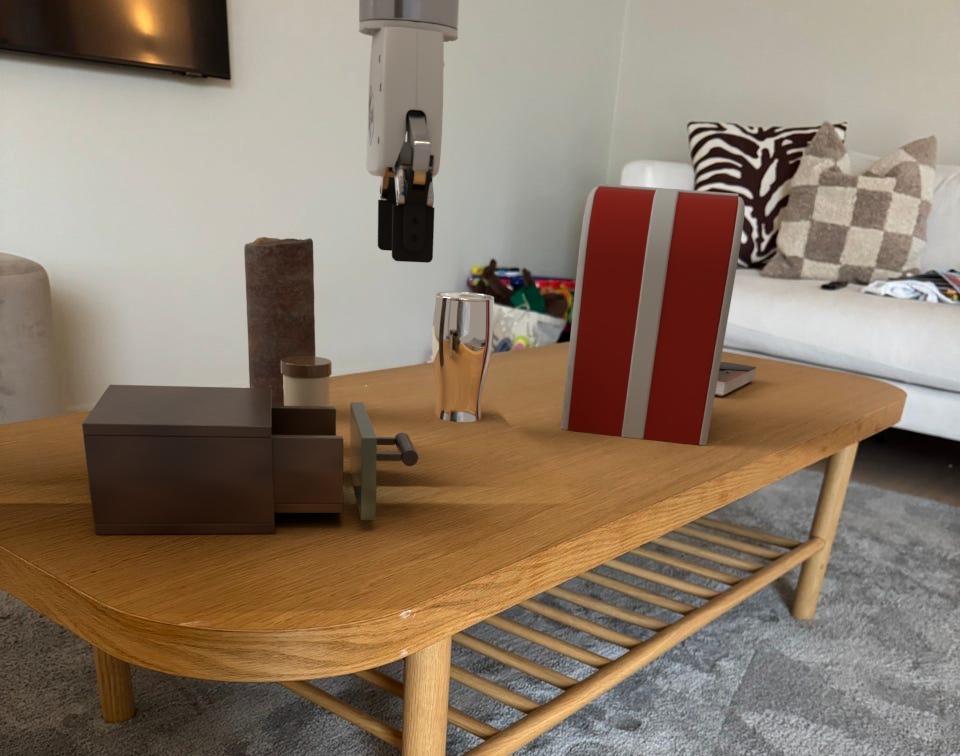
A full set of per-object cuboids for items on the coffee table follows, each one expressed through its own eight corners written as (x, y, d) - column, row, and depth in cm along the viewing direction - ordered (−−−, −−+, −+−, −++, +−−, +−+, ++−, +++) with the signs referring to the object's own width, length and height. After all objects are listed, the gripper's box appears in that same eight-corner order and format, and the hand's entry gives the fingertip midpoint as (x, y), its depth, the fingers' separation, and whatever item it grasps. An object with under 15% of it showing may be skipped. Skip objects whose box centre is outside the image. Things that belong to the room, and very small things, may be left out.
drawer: (403, 475, 91) (405, 403, 88) (421, 519, 80) (425, 438, 77) (225, 474, 88) (221, 399, 85) (218, 520, 77) (213, 435, 74)
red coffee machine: (575, 402, 130) (598, 183, 118) (706, 416, 128) (743, 193, 116) (559, 429, 116) (584, 183, 104) (707, 446, 113) (750, 195, 101)
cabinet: (274, 482, 90) (271, 388, 86) (274, 534, 78) (271, 426, 74) (119, 482, 87) (109, 384, 83) (95, 535, 75) (81, 423, 71)
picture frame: (753, 382, 152) (627, 362, 161) (756, 366, 151) (629, 347, 160) (722, 398, 139) (587, 375, 148) (725, 381, 138) (588, 359, 147)
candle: (295, 439, 104) (291, 241, 95) (237, 429, 106) (227, 234, 97) (328, 424, 111) (327, 238, 102) (273, 415, 113) (267, 232, 104)
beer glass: (418, 431, 111) (423, 294, 104) (442, 419, 117) (448, 289, 110) (473, 440, 109) (482, 301, 102) (495, 428, 114) (505, 295, 108)
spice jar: (283, 471, 93) (280, 364, 89) (283, 457, 98) (280, 355, 93) (333, 471, 94) (332, 366, 90) (330, 458, 98) (330, 356, 94)
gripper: (349, 22, 79) (349, 245, 87) (371, -9, 64) (369, 264, 72) (438, 31, 81) (431, 248, 88) (481, 3, 66) (467, 268, 73)
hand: (403, 255), depth 80 cm, fingers open, 9 cm apart
